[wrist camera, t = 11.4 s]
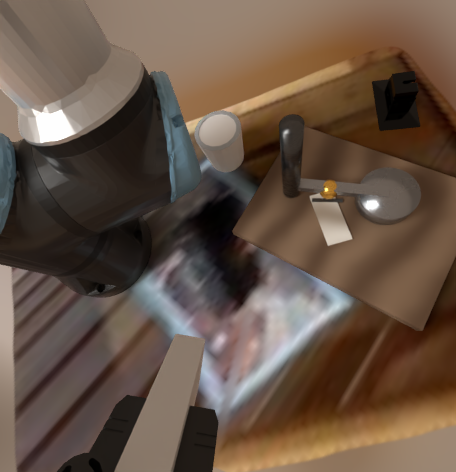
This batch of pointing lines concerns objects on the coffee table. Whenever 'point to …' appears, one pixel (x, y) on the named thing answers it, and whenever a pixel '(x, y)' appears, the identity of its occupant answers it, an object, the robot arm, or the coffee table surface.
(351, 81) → the coffee table surface
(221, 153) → the shot glass
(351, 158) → the crank stand
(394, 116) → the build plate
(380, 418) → the coffee table surface
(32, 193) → the robot arm
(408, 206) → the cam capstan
